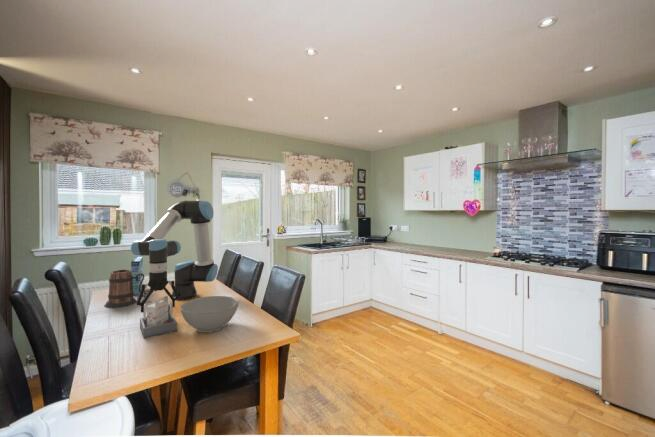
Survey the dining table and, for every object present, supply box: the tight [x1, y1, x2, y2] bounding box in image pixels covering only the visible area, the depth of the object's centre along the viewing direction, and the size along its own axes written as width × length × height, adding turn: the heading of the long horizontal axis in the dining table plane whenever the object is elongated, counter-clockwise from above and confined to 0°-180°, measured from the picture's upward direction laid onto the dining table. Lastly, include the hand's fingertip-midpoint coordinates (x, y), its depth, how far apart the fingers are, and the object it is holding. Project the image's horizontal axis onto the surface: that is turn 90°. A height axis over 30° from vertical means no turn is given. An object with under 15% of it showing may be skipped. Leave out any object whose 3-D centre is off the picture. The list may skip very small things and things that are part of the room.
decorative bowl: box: [179, 295, 240, 333], centre depth 146 cm, size 27×27×12 cm
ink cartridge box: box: [146, 295, 169, 327], centre depth 143 cm, size 9×5×15 cm, turn 169°
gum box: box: [130, 256, 144, 296], centre depth 206 cm, size 20×5×23 cm, turn 26°
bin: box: [139, 313, 178, 339], centre depth 143 cm, size 14×16×4 cm
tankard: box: [103, 269, 149, 309], centre depth 181 cm, size 24×17×20 cm
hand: (158, 316), depth 143 cm, fingers open, 11 cm apart
